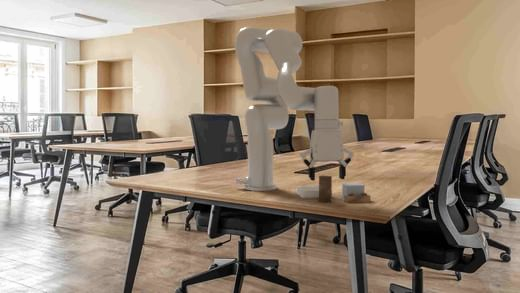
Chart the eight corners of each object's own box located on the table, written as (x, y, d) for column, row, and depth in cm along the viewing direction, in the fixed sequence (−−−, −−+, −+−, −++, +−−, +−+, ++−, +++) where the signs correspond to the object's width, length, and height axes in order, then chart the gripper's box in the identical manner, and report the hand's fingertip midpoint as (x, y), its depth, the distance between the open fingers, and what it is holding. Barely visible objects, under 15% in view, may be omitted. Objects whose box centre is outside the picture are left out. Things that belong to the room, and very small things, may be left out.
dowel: (320, 202, 134) (321, 177, 134) (317, 200, 138) (317, 175, 138) (333, 202, 135) (333, 177, 134) (329, 199, 139) (329, 175, 138)
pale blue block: (346, 200, 138) (346, 185, 137) (342, 198, 142) (342, 183, 141) (364, 200, 139) (364, 185, 138) (359, 198, 142) (359, 183, 142)
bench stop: (346, 202, 134) (346, 194, 134) (344, 201, 136) (344, 193, 136) (370, 201, 136) (370, 193, 135) (367, 200, 138) (368, 192, 137)
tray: (303, 198, 141) (303, 191, 141) (296, 193, 150) (296, 186, 150) (331, 197, 142) (332, 190, 142) (323, 192, 152) (323, 185, 152)
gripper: (348, 125, 140) (349, 177, 140) (297, 126, 137) (297, 179, 138) (357, 125, 132) (357, 179, 133) (302, 126, 130) (303, 182, 131)
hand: (327, 179), depth 135 cm, fingers open, 9 cm apart
